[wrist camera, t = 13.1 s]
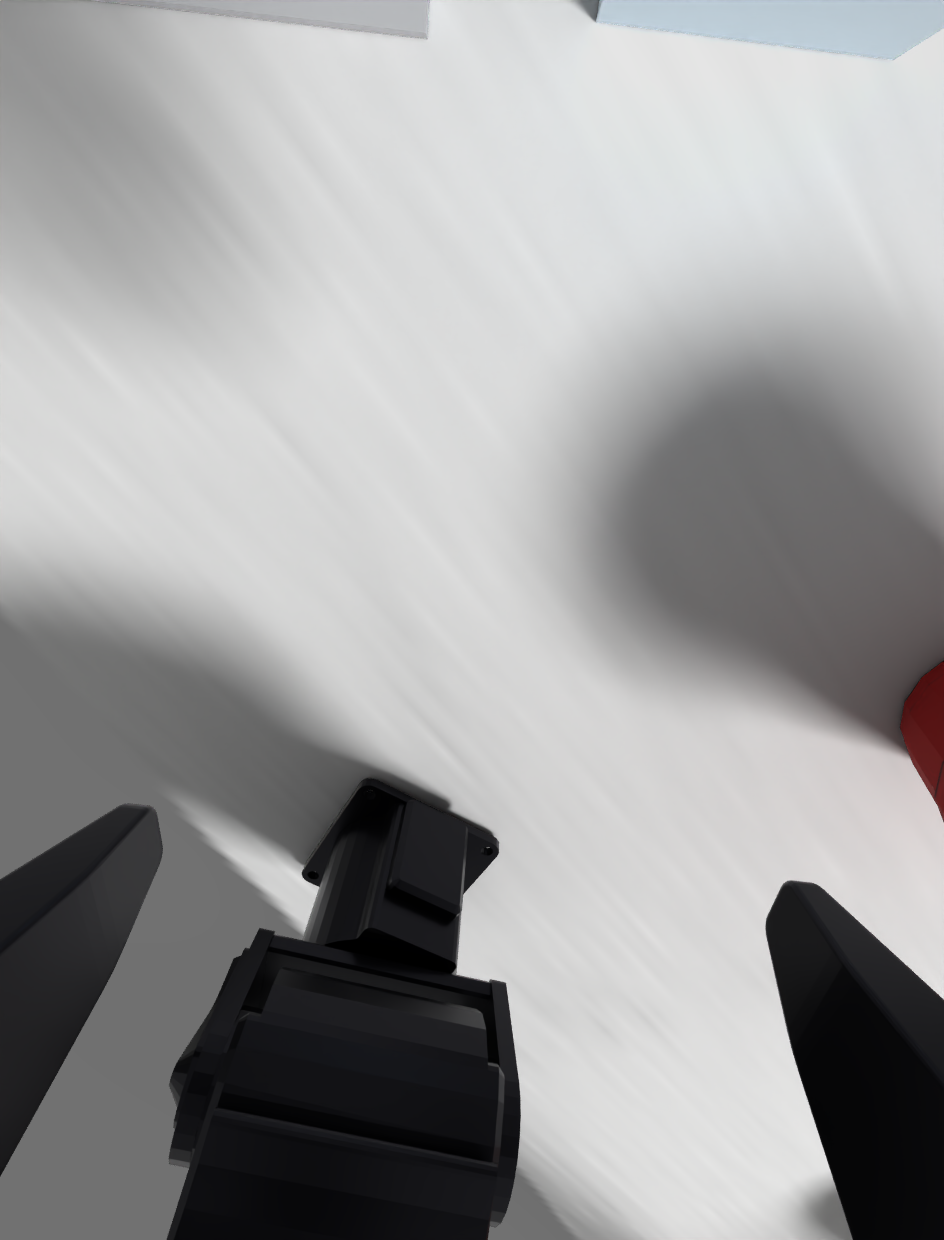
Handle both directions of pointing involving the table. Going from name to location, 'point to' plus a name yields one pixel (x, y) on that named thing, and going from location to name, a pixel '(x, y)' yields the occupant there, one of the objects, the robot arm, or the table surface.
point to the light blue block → (790, 22)
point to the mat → (315, 13)
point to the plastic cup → (927, 731)
